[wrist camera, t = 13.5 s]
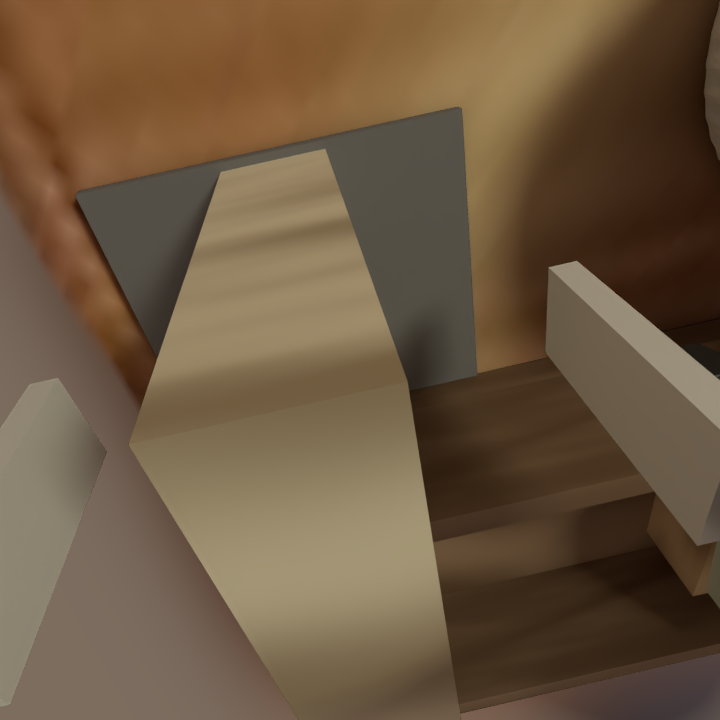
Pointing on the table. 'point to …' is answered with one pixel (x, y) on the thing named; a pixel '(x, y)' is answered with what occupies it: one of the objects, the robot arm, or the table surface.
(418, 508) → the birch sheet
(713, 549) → the offcut low
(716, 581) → the offcut top
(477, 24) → the table surface
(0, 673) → the robot arm
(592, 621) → the tray
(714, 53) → the ramekin
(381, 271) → the mat
